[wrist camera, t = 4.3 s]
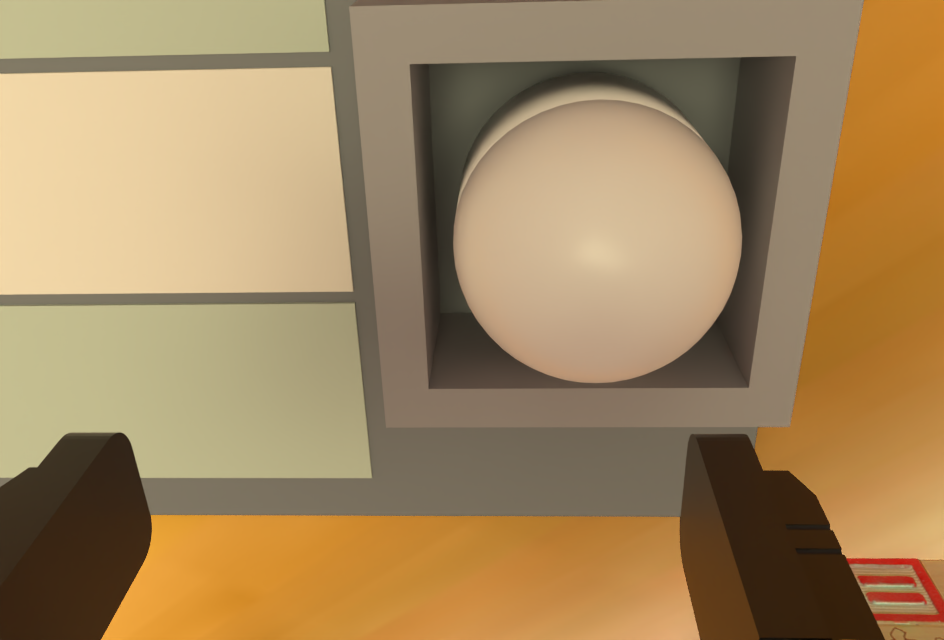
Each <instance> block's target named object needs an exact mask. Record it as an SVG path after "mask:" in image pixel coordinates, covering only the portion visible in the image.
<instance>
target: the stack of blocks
mask: <svg viewBox="0 0 944 640" xmlns="http://www.w3.org/2000/svg"><path fill="white" fill-rule="evenodd" d="M847 561H848V563H849V565H850V567H851V569H852V572H853V574H854V576H855V578H856V580H857V582H858V584H859V586H860V588H861V590H862V592H863V594H864V596H865V599H866V601H867V603H868V605H869V607H870V609H871V611H872V613H873V615H874V617H875V619H876V621H877V623H878V626H879V628H880V630H881V632H882V634H883V636H884V638H885V640H944V560H918V559H847Z"/></svg>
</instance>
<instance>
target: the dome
mask: <svg viewBox="0 0 944 640" xmlns="http://www.w3.org/2000/svg"><path fill="white" fill-rule="evenodd" d="M741 249H742V229H741V218H740V211H739V207H738V203H737V198H736V194H735V192H734V189H733V187H732V185H731V182H730V180H729V177H728V175H727V173H726V171H725V170H724V168H723V166H722V165H721V163H720V161H719V160H718V158H717V156H716V155H715V154H714V152H713V151H712V150H711V148H710V147H709V146H708V145H707V143H706V142H705V141H704V140H703V138H702V137H701V136H700V135H699V133H698V132H697V131H696V129H695V128H694V127H693V126H692V124H691V123H690V122H689V121H688V119H687V118H686V117H685V116H684V114H683V113H682V112H681V111H680V110H679V109H678V108H677V107H676V106H675V105H674V104H673V103H672V102H671V101H670V100H669V99H667V98H666V97H664V96H663V95H662V94H660V93H659V92H657V91H656V90H654V89H652V88H650V87H648V86H646V85H644V84H642V83H640V82H638V81H635V80H632V79H629V78H626V77H623V76H617V75H612V74H606V73H577V74H569V75H564V76H560V77H555V78H552V79H549V80H546V81H543V82H541V83H538V84H536V85H534V86H532V87H530V88H528V89H526V90H524V91H522V92H521V93H519V94H518V95H516V96H515V97H513V98H512V99H510V100H509V101H508V102H506V103H505V104H504V105H503V106H502V107H501V108H500V109H499V110H498V111H497V112H495V113H494V115H493V116H492V117H491V118H490V119H489V120H488V122H487V123H486V124H485V125H484V126H483V128H482V129H481V131H480V133H479V134H478V136H477V137H476V139H475V140H474V143H473V145H472V147H471V149H470V151H469V153H468V155H467V159H466V162H465V165H464V168H463V172H462V178H461V184H460V190H459V196H458V203H457V209H456V215H455V222H454V236H453V251H454V260H455V268H456V272H457V276H458V280H459V284H460V286H461V289H462V291H463V294H464V296H465V299H466V301H467V304H468V306H469V308H470V309H471V311H472V313H473V315H474V316H475V318H476V320H477V321H478V322H479V324H480V325H481V326H482V327H483V329H484V330H485V331H486V333H487V334H488V335H489V336H490V337H491V338H492V339H493V340H494V341H495V342H496V343H497V344H498V345H499V346H500V347H501V348H502V349H503V350H504V351H506V352H507V353H508V354H510V355H511V356H512V357H514V358H515V359H517V360H518V361H520V362H522V363H523V364H525V365H527V366H529V367H531V368H533V369H535V370H537V371H539V372H542V373H544V374H547V375H549V376H553V377H556V378H560V379H563V380H568V381H574V382H582V383H608V382H617V381H622V380H628V379H632V378H635V377H639V376H642V375H645V374H648V373H650V372H652V371H655V370H657V369H660V368H661V367H663V366H665V365H667V364H669V363H670V362H672V361H674V360H675V359H677V358H678V357H680V356H681V355H682V354H684V353H685V352H687V351H688V350H689V349H690V348H691V347H692V346H693V345H695V344H696V343H697V342H698V341H699V340H700V339H701V338H702V337H703V335H704V334H705V333H706V332H707V331H708V330H709V329H710V327H711V326H712V325H713V323H714V322H715V320H716V319H717V318H718V316H719V315H720V313H721V312H722V310H723V308H724V306H725V304H726V302H727V300H728V298H729V296H730V294H731V292H732V289H733V286H734V283H735V280H736V277H737V273H738V268H739V263H740V258H741Z"/></svg>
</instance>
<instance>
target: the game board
mask: <svg viewBox="0 0 944 640" xmlns="http://www.w3.org/2000/svg"><path fill="white" fill-rule="evenodd" d="M863 2H864V0H0V487H1V486H3V485H4V484H5V483H7V482H8V481H10V480H11V479H13V478H14V477H16V476H17V475H19V474H20V473H22V472H23V471H25V470H26V469H27V468H29V467H38V466H39V464H40V463H41V462H42V461H43V460H44V458H45V457H46V456H47V455H48V454H49V452H50V451H51V450H52V449H53V447H54V446H55V445H56V444H57V443H58V441H59V440H60V439H61V438H62V437H63V436H64V435H66V434H67V433H73V432H121V433H124V434H125V435H126V436H127V437H128V439H129V440H130V442H131V445H132V448H133V452H134V456H135V460H136V463H137V467H138V471H139V474H140V478H141V482H142V485H143V489H144V493H145V496H146V500H147V504H148V508H149V511H150V515H365V516H658V517H680V516H681V506H682V496H683V486H684V476H685V466H686V456H687V447H688V441H689V437H690V435H691V434H746V435H748V437H749V439H750V441H751V443H752V445H753V448H755V442H756V435H757V428H758V427H790V423H791V417H792V412H793V406H794V400H795V394H796V388H797V383H798V377H799V371H800V365H801V360H802V354H803V348H804V342H805V337H806V331H807V325H808V319H809V314H810V308H811V302H812V296H813V291H814V285H815V279H816V273H817V268H818V262H819V256H820V250H821V244H822V239H823V233H824V227H825V221H826V216H827V210H828V204H829V198H830V193H831V187H832V181H833V175H834V170H835V164H836V158H837V152H838V147H839V141H840V135H841V129H842V123H843V118H844V112H845V106H846V100H847V95H848V89H849V83H850V77H851V72H852V66H853V60H854V54H855V49H856V43H857V37H858V31H859V26H860V20H861V14H862V8H863ZM577 73H606V74H612V75H617V76H623V77H626V78H629V79H632V80H635V81H638V82H640V83H642V84H644V85H646V86H648V87H650V88H652V89H654V90H656V91H657V92H659V93H660V94H662V95H663V96H664V97H666V98H667V99H669V100H670V101H671V102H672V103H673V104H674V105H675V106H676V107H677V108H678V109H679V110H680V111H681V112H682V113H683V114H684V116H685V117H686V118H687V119H688V121H689V122H690V123H691V124H692V126H693V127H694V128H695V129H696V131H697V132H698V133H699V135H700V136H701V137H702V138H703V140H704V141H705V142H706V143H707V145H708V146H709V147H710V148H711V150H712V151H713V152H714V154H715V155H716V156H717V158H718V160H719V161H720V163H721V165H722V166H723V168H724V170H725V171H726V173H727V175H728V177H729V180H730V182H731V185H732V187H733V189H734V192H735V194H736V198H737V203H738V207H739V211H740V218H741V229H742V249H741V258H740V263H739V268H738V273H737V277H736V280H735V283H734V286H733V289H732V292H731V294H730V296H729V298H728V300H727V302H726V304H725V306H724V308H723V310H722V312H721V313H720V315H719V316H718V318H717V319H716V320H715V322H714V323H713V325H712V326H711V327H710V329H709V330H708V331H707V332H706V333H705V334H704V335H703V337H702V338H701V339H700V340H699V341H698V342H697V343H696V344H695V345H693V346H692V347H691V348H690V349H689V350H688V351H687V352H685V353H684V354H682V355H681V356H680V357H678V358H677V359H675V360H674V361H672V362H670V363H669V364H667V365H665V366H663V367H661V368H660V369H657V370H655V371H652V372H650V373H648V374H645V375H642V376H639V377H635V378H632V379H628V380H622V381H617V382H608V383H582V382H574V381H568V380H563V379H560V378H556V377H553V376H549V375H547V374H544V373H542V372H539V371H537V370H535V369H533V368H531V367H529V366H527V365H525V364H523V363H522V362H520V361H518V360H517V359H515V358H514V357H512V356H511V355H510V354H508V353H507V352H506V351H504V350H503V349H502V348H501V347H500V346H499V345H498V344H497V343H496V342H495V341H494V340H493V339H492V338H491V337H490V336H489V335H488V334H487V333H486V331H485V330H484V329H483V327H482V326H481V325H480V324H479V322H478V321H477V320H476V318H475V316H474V315H473V313H472V311H471V309H470V308H469V306H468V304H467V301H466V299H465V296H464V294H463V291H462V289H461V286H460V284H459V280H458V276H457V272H456V268H455V260H454V251H453V236H454V222H455V215H456V209H457V203H458V196H459V190H460V184H461V178H462V172H463V168H464V165H465V162H466V159H467V155H468V153H469V151H470V149H471V147H472V145H473V143H474V140H475V139H476V137H477V136H478V134H479V133H480V131H481V129H482V128H483V126H484V125H485V124H486V123H487V122H488V120H489V119H490V118H491V117H492V116H493V115H494V113H495V112H497V111H498V110H499V109H500V108H501V107H502V106H503V105H504V104H505V103H506V102H508V101H509V100H510V99H512V98H513V97H515V96H516V95H518V94H519V93H521V92H522V91H524V90H526V89H528V88H530V87H532V86H534V85H536V84H538V83H541V82H543V81H546V80H549V79H552V78H555V77H560V76H564V75H569V74H577Z"/></svg>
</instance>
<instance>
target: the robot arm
mask: <svg viewBox="0 0 944 640" xmlns="http://www.w3.org/2000/svg"><path fill="white" fill-rule="evenodd" d="M151 532H152V523H151V516H150V511H149V508H148V504H147V500H146V496H145V493H144V489H143V485H142V482H141V478H140V474H139V471H138V467H137V463H136V460H135V456H134V452H133V448H132V445H131V442H130V440H129V439H128V437H127V436H126V435H125V434H124V433H121V432H73V433H67V434H66V435H64V436H63V437H62V438H61V439H60V440H59V441H58V443H57V444H56V445H55V446H54V447H53V449H52V450H51V451H50V452H49V454H48V455H47V456H46V457H45V458H44V460H43V461H42V462H41V463H40V464H39V466H38V467H29V468H27V469H26V470H25V471H23V472H22V473H20V474H19V475H17V476H16V477H14V478H13V479H11V480H10V481H8V482H7V483H5V484H4V485H3V486H1V487H0V640H101V638H102V637H103V635H104V633H105V631H106V629H107V628H108V626H109V624H110V622H111V620H112V619H113V617H114V615H115V613H116V611H117V609H118V608H119V606H120V604H121V602H122V600H123V599H124V597H125V595H126V593H127V591H128V590H129V588H130V586H131V584H132V582H133V581H134V579H135V577H136V575H137V573H138V571H139V570H140V568H141V566H142V564H143V562H144V560H145V558H146V556H147V553H148V550H149V546H150V541H151ZM680 548H681V557H682V563H683V568H684V572H685V577H686V581H687V585H688V589H689V593H690V598H691V602H692V606H693V610H694V614H695V619H696V623H697V627H698V631H699V635H700V640H885V638H884V636H883V634H882V632H881V630H880V628H879V626H878V623H877V621H876V619H875V617H874V615H873V613H872V611H871V609H870V607H869V605H868V603H867V601H866V599H865V596H864V594H863V592H862V590H861V588H860V586H859V584H858V582H857V580H856V578H855V576H854V574H853V572H852V569H851V567H850V565H849V563H848V561H847V559H846V557H845V555H842V553H841V547H840V545H839V542H838V540H837V538H836V536H835V534H834V532H833V530H830V524H829V522H828V520H827V518H826V515H825V513H824V511H823V509H822V507H821V505H820V503H819V501H818V499H817V497H816V495H815V494H814V493H812V492H811V491H810V490H809V489H808V488H807V487H806V486H805V485H804V484H802V483H801V482H800V481H799V480H798V479H797V478H796V477H795V476H794V475H792V474H791V473H790V472H789V471H763V470H762V467H761V465H760V462H759V460H758V457H757V455H756V453H755V450H754V448H753V445H752V443H751V441H750V439H749V437H748V435H746V434H691V435H690V437H689V441H688V447H687V456H686V466H685V476H684V486H683V496H682V506H681V516H680Z"/></svg>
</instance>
